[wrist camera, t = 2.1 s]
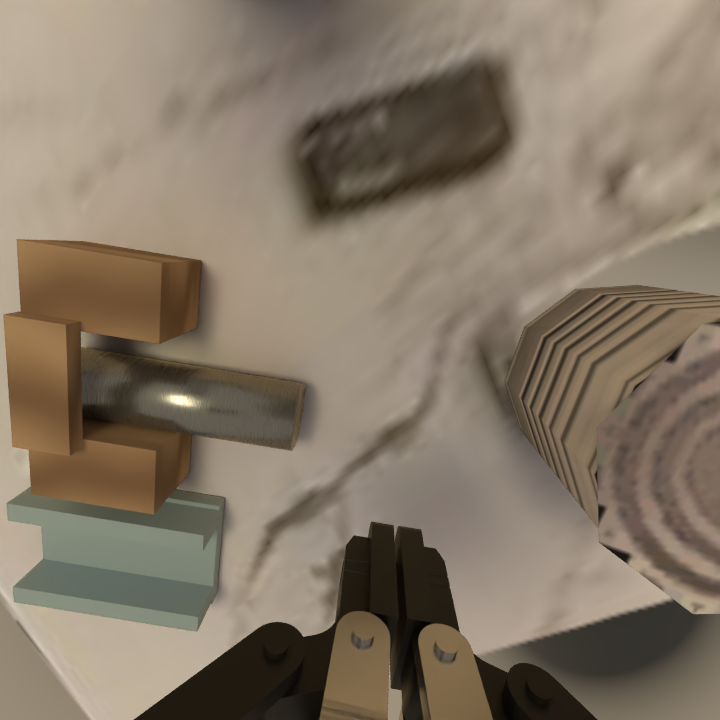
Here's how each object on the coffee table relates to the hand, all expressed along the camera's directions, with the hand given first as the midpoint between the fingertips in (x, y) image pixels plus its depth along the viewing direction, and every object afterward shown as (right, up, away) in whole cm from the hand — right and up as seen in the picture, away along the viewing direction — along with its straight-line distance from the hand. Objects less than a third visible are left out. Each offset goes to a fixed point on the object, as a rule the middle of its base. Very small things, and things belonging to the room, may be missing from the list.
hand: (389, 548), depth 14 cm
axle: (-12, +4, +11) cm, 16 cm away
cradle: (-17, -6, +16) cm, 24 cm away
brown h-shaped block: (-15, +6, +13) cm, 20 cm away
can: (+13, +5, +12) cm, 19 cm away
